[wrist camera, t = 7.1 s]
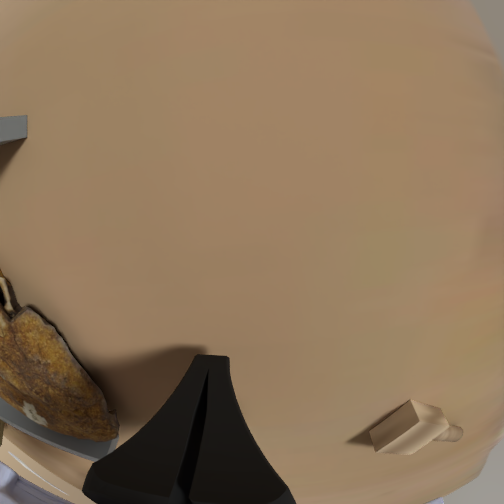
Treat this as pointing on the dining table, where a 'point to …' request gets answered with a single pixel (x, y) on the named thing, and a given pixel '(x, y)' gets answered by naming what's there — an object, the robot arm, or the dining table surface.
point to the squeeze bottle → (1, 430)
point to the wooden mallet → (412, 429)
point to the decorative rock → (48, 376)
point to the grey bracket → (5, 132)
